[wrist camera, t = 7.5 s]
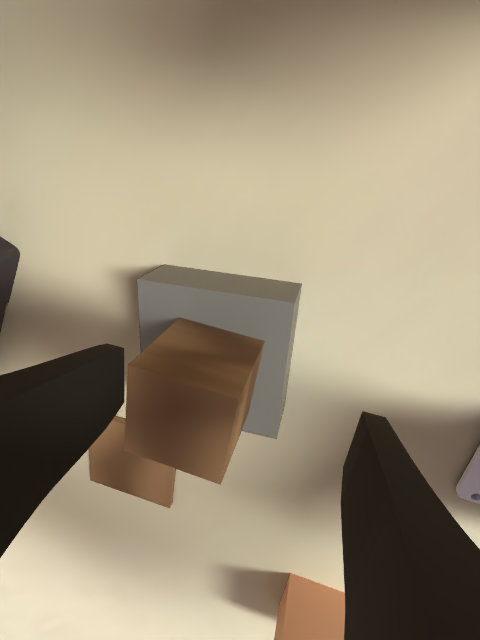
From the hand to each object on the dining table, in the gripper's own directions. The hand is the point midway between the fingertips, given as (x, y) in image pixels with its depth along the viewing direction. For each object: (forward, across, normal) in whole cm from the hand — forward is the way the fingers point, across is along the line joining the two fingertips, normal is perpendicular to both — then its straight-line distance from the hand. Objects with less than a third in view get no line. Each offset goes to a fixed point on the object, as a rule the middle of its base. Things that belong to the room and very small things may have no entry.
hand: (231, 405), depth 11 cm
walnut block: (+7, +3, +4) cm, 9 cm away
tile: (+10, +9, +16) cm, 21 cm away
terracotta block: (+10, -7, +25) cm, 28 cm away
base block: (+11, +3, +3) cm, 12 cm away
